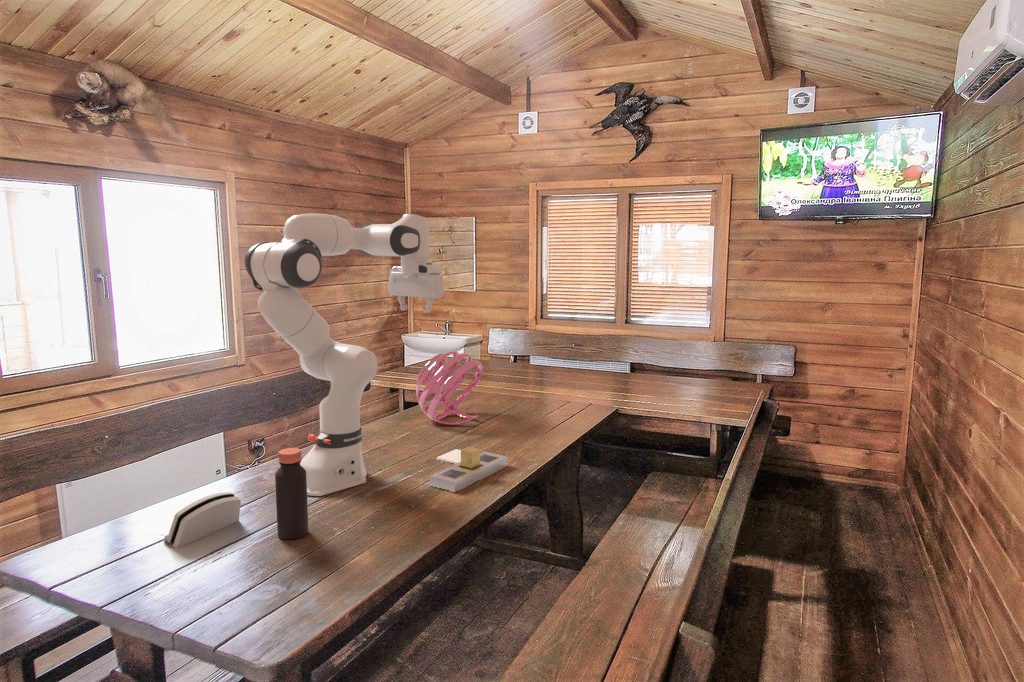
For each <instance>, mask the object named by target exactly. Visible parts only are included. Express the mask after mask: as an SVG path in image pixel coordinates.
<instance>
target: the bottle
mask: <svg viewBox="0 0 1024 682" xmlns="http://www.w3.org/2000/svg"><path fill="white" fill-rule="evenodd" d="M301 460H302V450H301V449H300V448H297V447H287V448H283V449H280V450H279V451H278V463H279V465H280V467H279V468H278V469H277V470H276V472H274V473H275V474H274V482H275V484H274V485H275V486H274V487H275V504H276V524H277V525H276V528H277V536H278V537H279V538H280V539H282V540H288V541H292V540H298V539H301V538H303V537H305V536H306V535H307V534H308V532H309V514H308V513H309V512H308V495H307V480H306V470H305V469H304V468H303V467H302V466H301V465H300V462H301Z"/></svg>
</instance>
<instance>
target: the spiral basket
mask: <svg viewBox="0 0 1024 682" xmlns="http://www.w3.org/2000/svg"><path fill="white" fill-rule="evenodd" d="M450 355H452V358H450V359H449V360H448V361H446V359H447V358H448V356H450ZM464 358H466V360H465V363H464V364H463V365H462V366H461V367H459V368H458V369H456V367H457V366H458V363H459V361H460V360H462V359H464ZM474 367H477V369H476V372H475V374H474V376H473V377H472V379H471V381H470V382H469V384H468V385H467V386H466V388H465V389H464V390H463V391H462V392H461V394H460V395H459V396H458V397H457V398H456V399H455V400H454V402H450V401H449V398H450V396H451V395H453V394H454V393H455V391H456V390H457V389H458V388H459V387H460V386H461V384H462V383H463V381H464V380H465V379H466V378H467V376H468V374H469V372H470V370H471V369H473V368H474ZM455 369H456V370H455ZM454 371H455V372H454ZM483 372H484V366H483V364H482V363H481V362H480V361H479V360H477V359H473V357H472V355H470V354H468V353H465V352H464V353H463V352H462V353H459V352H458V351H454V350H451V351H447V352H445V353H439V354H436V355H434V356H433V357H431V358H430V359H429V360H428V361H426V363H425V364H424V365H423V366H422V368H421V369H420V371H419V373H418V375H417V378H416V387H415V395H416V399H417V402H418V404H419V407H420V409H421V410H422V412H423V413H424V414H425V415H426V417H429V418H430V420H432V421H434V422H436V423H438V424H440V425H443V426H444V425H445V426H459V425H464V424H466V423H469V422H471V421H473V420H474V419H477V418H479V417H480V416H479V414H475V415H469V414H467V413H464V412H463V411H461V410H460V409H459V407H460V405H461V404H462V403H463V402H464V401H465V400H466V399H467V397H468V396H469V395H470V394H471V393H472V391H473V390H474V389H475V387H476V386H477V384H478V382H479V380H480V379H481V377H482V374H483ZM424 384H426V385H425V387H424V388H423V390H422V391H420V389H421V386H422V385H424ZM431 395H434V396H433V398H432V400H431V402H430V403H427V404H425V405H424V403H425V402H426V398H427V397H430V396H431ZM441 405H442V406H443V407H444V410H442V411H441V412H439V413H437V414H436V415H434V414H435V411H436V409H437V407H438V408H439V407H440V406H441ZM450 414H454V415H455V416H458V417H460V418H462V419H465V420H463V421H457V422H447V421H442V419H444V418H446V417H447V416H449V415H450Z"/></svg>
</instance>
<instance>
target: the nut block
mask: <svg viewBox="0 0 1024 682" xmlns="http://www.w3.org/2000/svg"><path fill="white" fill-rule="evenodd" d="M460 450H461V468H464V469H468V470H472V471H473V470H475V469H477V468H479V467H480V453H481V449H480V448H476V447H473V446H467V447H464V448H463V449H460Z"/></svg>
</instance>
